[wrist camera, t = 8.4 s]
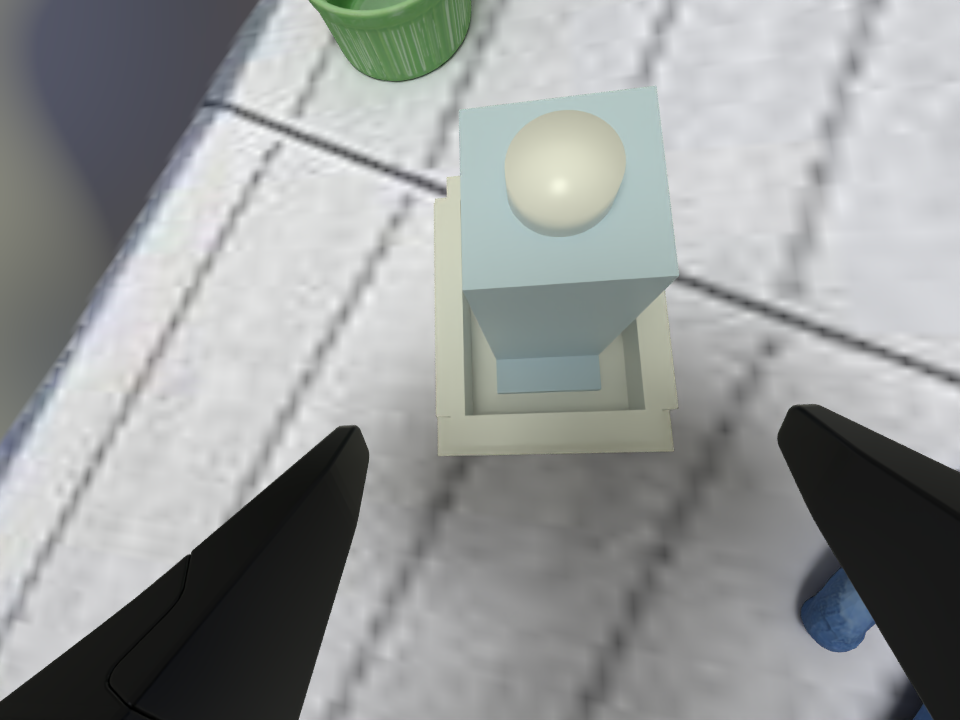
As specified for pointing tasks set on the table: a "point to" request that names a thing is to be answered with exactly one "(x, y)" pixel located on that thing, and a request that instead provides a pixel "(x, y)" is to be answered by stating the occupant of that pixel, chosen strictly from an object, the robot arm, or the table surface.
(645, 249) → the block
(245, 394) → the table surface
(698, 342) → the table surface
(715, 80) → the table surface
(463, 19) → the ramekin
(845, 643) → the pair of gloves
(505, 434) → the pocket tray
